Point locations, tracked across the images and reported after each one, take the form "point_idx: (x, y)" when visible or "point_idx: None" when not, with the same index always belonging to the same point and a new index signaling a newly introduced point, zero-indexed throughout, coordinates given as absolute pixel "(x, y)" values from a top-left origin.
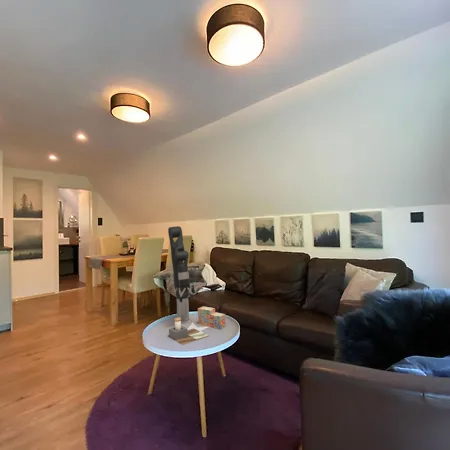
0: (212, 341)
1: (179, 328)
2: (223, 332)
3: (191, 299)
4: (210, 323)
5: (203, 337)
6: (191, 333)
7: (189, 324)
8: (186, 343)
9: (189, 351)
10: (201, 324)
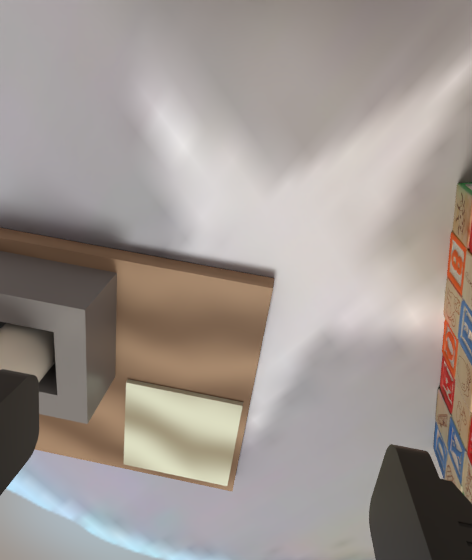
0: (211, 511)
1: None
2: None
3: (374, 503)
4: (453, 374)
5: (185, 474)
6: (172, 361)
7: (394, 81)
8: (41, 447)
9: (29, 486)
10: (453, 234)
